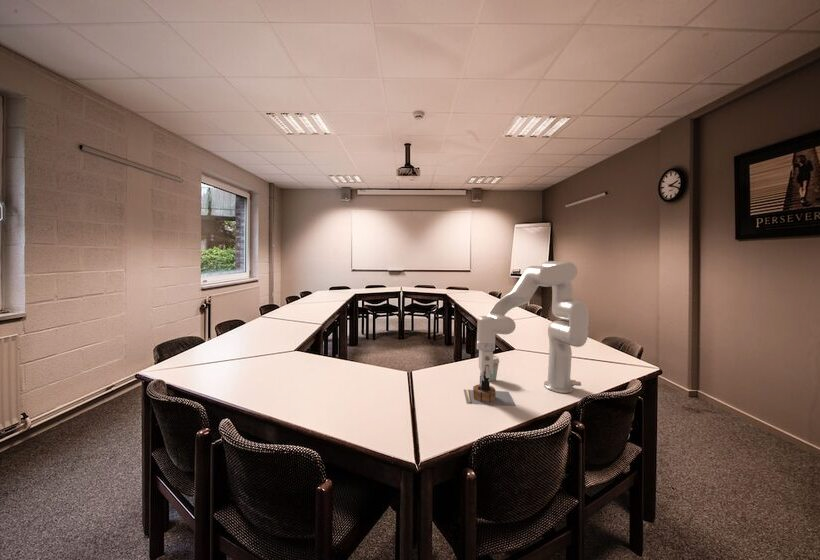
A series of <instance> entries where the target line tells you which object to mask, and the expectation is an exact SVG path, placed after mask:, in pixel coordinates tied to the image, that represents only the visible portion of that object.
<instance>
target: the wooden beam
mask: <svg viewBox="0 0 820 560" xmlns="http://www.w3.org/2000/svg"><path fill="white" fill-rule="evenodd" d="M484 373H485V372H484ZM484 376H485V375H484ZM479 384H480V390H481V391H488V390H482V389H481V384H482V373H481V379H480V378H479Z"/></svg>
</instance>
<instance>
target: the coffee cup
mask: <svg viewBox="0 0 820 560" xmlns="http://www.w3.org/2000/svg"><path fill="white" fill-rule="evenodd" d="M499 363H500V358H499V357H498V356H497V355H495V354H493V375H491V374H490V372H489V381H490V382H489V383H494V382H497V375H498V370H499Z"/></svg>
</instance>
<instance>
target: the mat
mask: <svg viewBox="0 0 820 560" xmlns="http://www.w3.org/2000/svg"><path fill="white" fill-rule="evenodd" d="M463 393H464V394H463V395H464V397H465V402H466V405H484V406H500V407H501V406H502V407H503V406H504V407H505V406H506V407H517V405H516V403H515V401H514V399H513V397H512V396H511V394H510V391H507V390H506V391H505V390H503V391H502V390H501V391H500V390H496V393H495V401H493V402H489V403H487V402H482V401H481V402H479V401H477V400H475V399H474V398H473V389H468V388H466V389H463Z"/></svg>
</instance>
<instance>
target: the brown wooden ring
mask: <svg viewBox="0 0 820 560" xmlns="http://www.w3.org/2000/svg"><path fill="white" fill-rule="evenodd" d="M472 390H473V398H474V399H475V400H477V401H479V402H481V401H482V402H487V403H489V402H493V401H495V393H496V391H497V390H496V388H495V387H493V386H492V385H489V390H488V391H481V390H480V383H479V384H476V385H474V386H473V387H472Z"/></svg>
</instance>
